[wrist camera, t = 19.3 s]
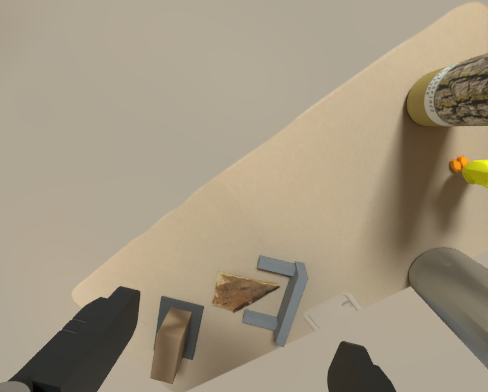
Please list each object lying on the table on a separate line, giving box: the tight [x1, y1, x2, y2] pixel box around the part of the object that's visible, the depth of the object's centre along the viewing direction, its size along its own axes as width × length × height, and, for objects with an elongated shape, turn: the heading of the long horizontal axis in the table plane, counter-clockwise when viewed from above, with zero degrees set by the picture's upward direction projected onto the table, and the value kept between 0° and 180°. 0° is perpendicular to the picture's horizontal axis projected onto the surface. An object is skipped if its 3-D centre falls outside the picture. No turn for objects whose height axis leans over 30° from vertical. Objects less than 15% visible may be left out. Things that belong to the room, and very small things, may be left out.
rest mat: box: [154, 296, 204, 360], centre depth 45 cm, size 8×13×1 cm, turn 167°
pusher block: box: [150, 307, 192, 384], centre depth 42 cm, size 4×10×6 cm, turn 167°
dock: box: [243, 256, 308, 347], centre depth 39 cm, size 8×14×4 cm, turn 167°
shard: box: [212, 271, 280, 312], centre depth 42 cm, size 11×8×2 cm
